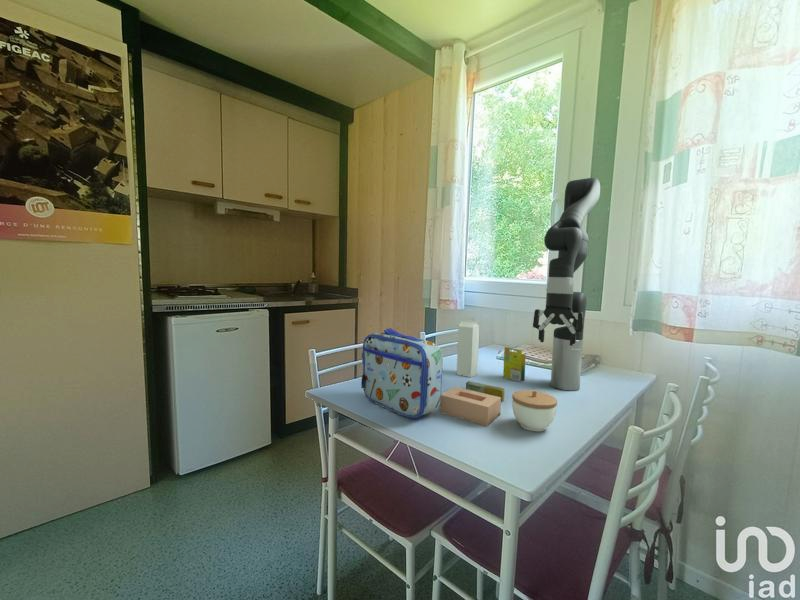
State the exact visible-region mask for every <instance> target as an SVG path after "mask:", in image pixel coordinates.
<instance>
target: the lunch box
mask: <svg viewBox="0 0 800 600" xmlns="http://www.w3.org/2000/svg"><path fill="white" fill-rule="evenodd" d="M443 355H444V354H443V351H442V349H441V348H440V346H439V345H438V344H436V343H434V342H432V341H429V340H425V339H422V338H417V337H415V336H410V335H404V334H402V333H400V332H397V331H396V330H394V329H393V328H392V327H389V328H386V329H384V330H383V332H381V333H376V332H375V333H371V334H368V335H367V336H365V338H364V340H363V344H362V353H361V357H360V358H361V359H362V360H361V361H362V364H363V365H362V375H361V389H363V393H364V395H365V397H366V399H368V400H369V401H370V402H371V403H374V404H376V405H378V406H380V407H383V408H384V409H387V410H388V411H390V412H394V413H396V414H399V415H400V416H401V415H402V416H405V417H407V418H409V419H410V418H411V419H420V417H422V416H424V415H427V414H432V413H435V412H437V411H438V409H440V399H441V394H442V384H443V383H442V380H443V365H444V356H443Z"/></svg>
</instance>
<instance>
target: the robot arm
mask: <svg viewBox="0 0 800 600" xmlns="http://www.w3.org/2000/svg"><path fill="white" fill-rule="evenodd" d="M600 196H601V183H600V180H599V179H598V178H597V177H586V178H581V179H575V180H574V179H573V180H570V181H569V182H567V184H566V186H565V190H564V201H563V202H564V204H563V212H562V214H560V218H559V219H558V221H557V222H555V223H554V224H552V226H550V227H549V228H548V230H547V231H546V233H545V235H544V240H543V243H544V246H545V248H546V249H548V250H549V251H552V252H556V251H557V252H558V256H557V258H552V259H551V260H550V261H549V264H548V265H549V267H548V278H547V284H546V289H545V290H546V297H545V309H539V308H537V309H535V310H534V315H533V322H532V328H534V329H537V330H538V341H539V342H540V343H544V342H545V331H546V330H545V328H546V327H547V326H549V324H551V325H559V326H558V327H556V328H554V329H553V338H552V354H551V356H552V357H551V371H550V373H551V374H550V385H551V386H552V387H554V388H556V389H558V390H565V391H578V390H580V388H581V387H580V386H581V375H582V361H583V358H582V357H583V343H584V328H585V327H584V326H585V317H586V310H587V297H586V296H587V295H586V294H585V292H582V291H574V274H575V272H576V271H577V270H578V269H579V268H580V267H581V266H582V264H583V263H584V262H585V260H586V259H587V257H588V251H589V243H590V239H589V238H590V237H589V235H588V233H587V231H586V229H585V228H584V226H583V223H584V222H585V218H586V217H587V215H588V214H589V213H590V212H591V211H592V209H593V208H594V207H595V205H596V204H597V203H598V201H599V200H600ZM542 315H544V316H545V318H546V319H545V320H544V321H543V322H542V323H541V324H540V317H542ZM570 320H572V322H571V321H570ZM563 325H564V326H563Z"/></svg>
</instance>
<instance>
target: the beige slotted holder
mask: <svg viewBox="0 0 800 600" xmlns="http://www.w3.org/2000/svg"><path fill="white" fill-rule="evenodd" d="M501 407H502V402H501V397H497V396H493V395H489V394H485V393H480V392H476V391H472V390H468V389H466V388H463V387H459V386H454V387H452V388H450V389H448V390H447V391H445V392H443V393H441V399H440V405H439V413H440V414H445V415H448V416H451V417H455V418H458V419H463V420H465V421H469V422H471V423H476V424H479V425H483V426H486V427H488V426H490V425H491V424H492V423H493V422H494V421H495V420H496V419H498V418H499V417H500V416H501V410H502V409H501Z"/></svg>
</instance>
